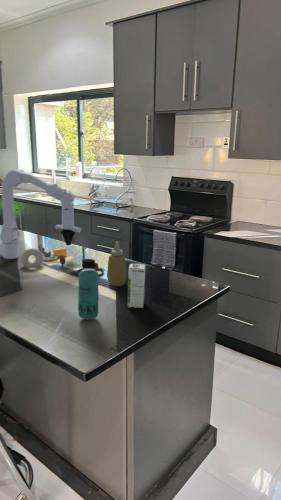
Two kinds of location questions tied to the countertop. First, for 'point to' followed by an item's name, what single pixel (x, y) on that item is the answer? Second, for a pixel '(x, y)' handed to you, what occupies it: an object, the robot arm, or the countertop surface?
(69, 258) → the board
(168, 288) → the countertop surface
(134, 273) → the syrup box
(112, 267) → the squeeze bottle
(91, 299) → the beverage bottle
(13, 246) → the robot arm
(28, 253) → the donut
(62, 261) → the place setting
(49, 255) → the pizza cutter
